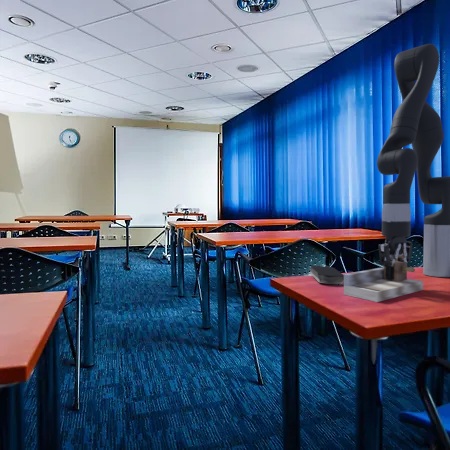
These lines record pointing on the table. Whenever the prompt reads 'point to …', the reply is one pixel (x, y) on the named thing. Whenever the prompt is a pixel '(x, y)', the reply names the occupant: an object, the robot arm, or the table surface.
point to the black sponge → (327, 275)
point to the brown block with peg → (400, 271)
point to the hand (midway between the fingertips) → (395, 278)
